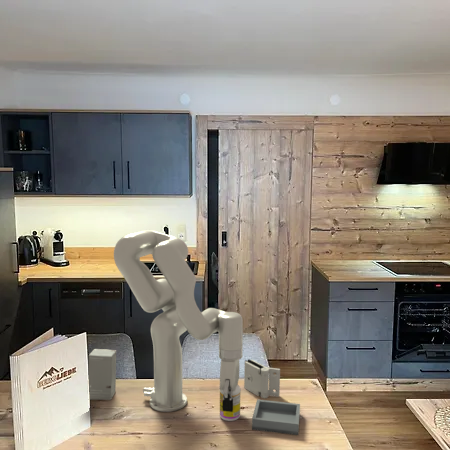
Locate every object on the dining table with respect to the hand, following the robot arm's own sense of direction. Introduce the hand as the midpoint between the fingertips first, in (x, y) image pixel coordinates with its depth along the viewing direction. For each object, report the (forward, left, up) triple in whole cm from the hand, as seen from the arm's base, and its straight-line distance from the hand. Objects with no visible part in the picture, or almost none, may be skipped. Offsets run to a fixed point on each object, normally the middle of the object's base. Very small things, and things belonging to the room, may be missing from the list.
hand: (230, 403), depth 146 cm
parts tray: (+15, 0, -4) cm, 15 cm away
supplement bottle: (0, 0, -5) cm, 5 cm away
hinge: (+8, +18, -5) cm, 20 cm away
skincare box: (-46, +4, -5) cm, 47 cm away
